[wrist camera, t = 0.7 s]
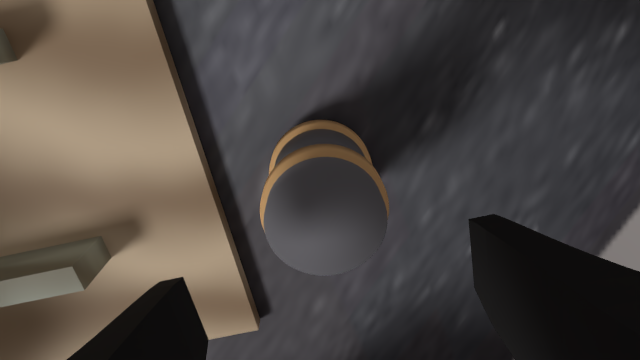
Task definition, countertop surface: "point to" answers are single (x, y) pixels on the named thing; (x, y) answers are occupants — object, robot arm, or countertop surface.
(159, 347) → the robot arm
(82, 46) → the shelf
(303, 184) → the banded gray cylinder
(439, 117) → the countertop surface
